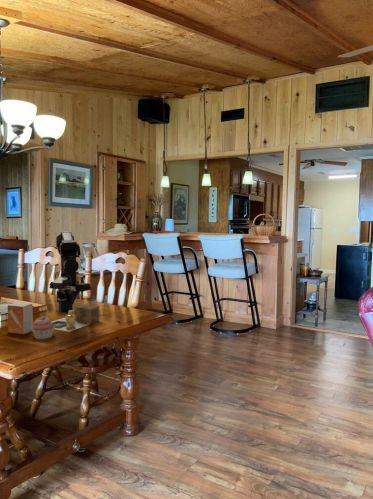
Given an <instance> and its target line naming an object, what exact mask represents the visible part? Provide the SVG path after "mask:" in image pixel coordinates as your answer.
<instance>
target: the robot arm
mask: <svg viewBox="0 0 373 499" xmlns="http://www.w3.org/2000/svg"><path fill="white" fill-rule="evenodd" d="M55 239H56V240H55V246H56V247H55V248H57V252H58V254H59V256H60V277H58V278H56V279H55V280H53V281H51V282H50V283H49V289H52V290H56V303H58V312H61V313H68V311H69V310H74V309H73V306H74V303H75V301H76V298H77V297H78V295H79V293H80V292H82V293H83V292H87V291H91V290H92V284H90V283H89V282H81V283H80V282H79V280H78V278H77V275H79V271H78V270H79V267H80V265H79V262H78V261H77V258H80V256H81V255H82V254H81V247H80V244H79V243H78V242H77V240H75V236H74V235H73V234H72V231H70V230H69V231H67V230H66V231H60V234H58V235H57V236H56V238H55Z"/></svg>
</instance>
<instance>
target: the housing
mask: <svg viewBox="0 0 373 499" xmlns="http://www.w3.org/2000/svg"><path fill="white" fill-rule="evenodd" d="M75 317H76V322H81V323H87V324H89V325H91V323H92V324H93V322H94V323H96V321H97V322H99V321H100V306H99V305H95V304H87V303H84V304H81V305H78V306H75Z"/></svg>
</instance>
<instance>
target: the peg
mask: <svg viewBox="0 0 373 499" xmlns="http://www.w3.org/2000/svg"><path fill="white" fill-rule="evenodd" d="M65 317H66V329H67V330H72V329H75V317H76V313H75V314H68V313H67V314H65Z"/></svg>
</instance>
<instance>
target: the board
mask: <svg viewBox="0 0 373 499" xmlns="http://www.w3.org/2000/svg"><path fill="white" fill-rule="evenodd" d="M67 314H75V315H76V309H75V310H74V309H73V310H69V311H68V312H67ZM51 322H52V325H53V326H54V327H55V328H54V330H58V331H62V332H67V333H68V332H69V333H71V332H73V331H75V330H79V329H80V328H84V327H87V326H88V325H91V324H93V323H96V322H98V321H96V322H93V323H91V324H87V323H81V322H76V316H75V329H72V330H67V329H66V316H65V317H62V318H59V319H56V320H53V321H51Z"/></svg>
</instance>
